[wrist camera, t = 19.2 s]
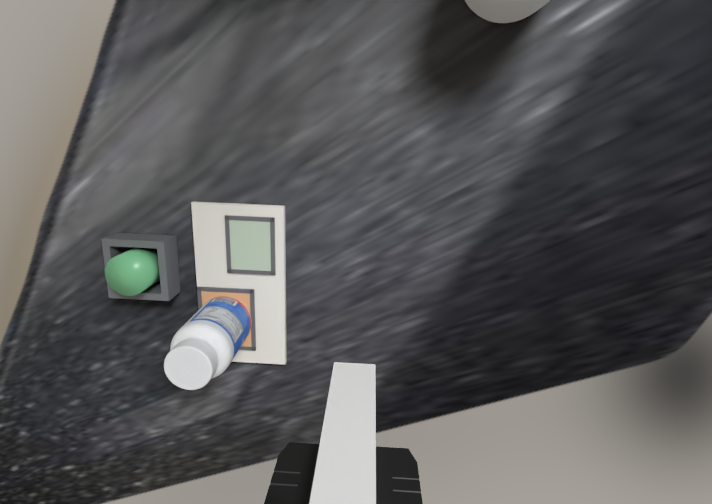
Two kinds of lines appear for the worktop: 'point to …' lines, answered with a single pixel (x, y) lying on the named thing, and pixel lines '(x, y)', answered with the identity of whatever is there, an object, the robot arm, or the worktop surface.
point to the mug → (505, 9)
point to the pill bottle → (207, 342)
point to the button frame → (166, 262)
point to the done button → (133, 271)
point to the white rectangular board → (245, 270)
